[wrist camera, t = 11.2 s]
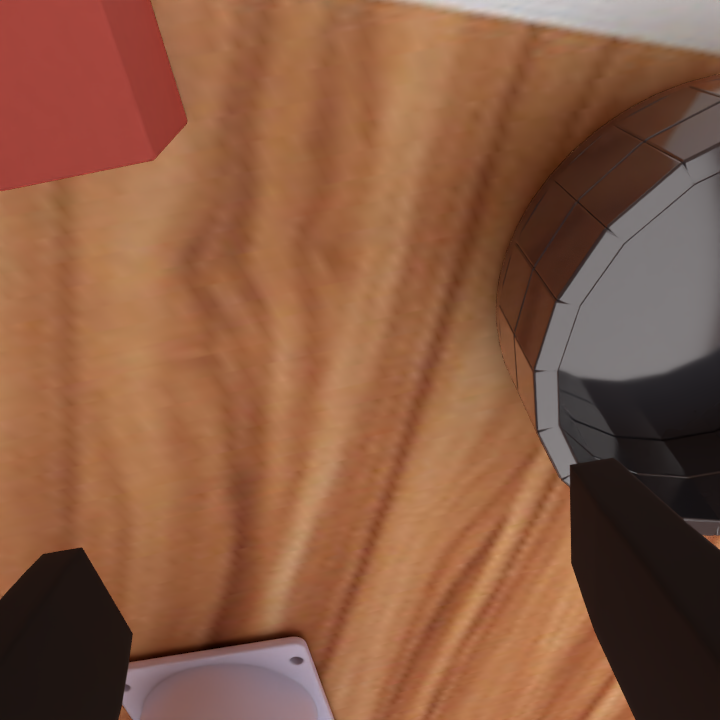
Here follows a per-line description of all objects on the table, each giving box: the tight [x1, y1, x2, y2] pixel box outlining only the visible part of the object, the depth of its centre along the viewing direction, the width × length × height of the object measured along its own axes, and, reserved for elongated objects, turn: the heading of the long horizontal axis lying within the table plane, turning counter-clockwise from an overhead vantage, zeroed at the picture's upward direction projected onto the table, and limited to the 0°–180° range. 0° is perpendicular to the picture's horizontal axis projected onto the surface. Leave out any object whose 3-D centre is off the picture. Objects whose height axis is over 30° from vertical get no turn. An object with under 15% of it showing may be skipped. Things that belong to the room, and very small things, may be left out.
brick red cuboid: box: [0, 0, 187, 191], centre depth 13 cm, size 4×3×4 cm
